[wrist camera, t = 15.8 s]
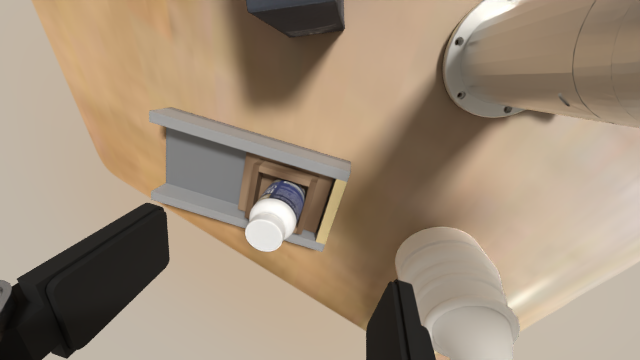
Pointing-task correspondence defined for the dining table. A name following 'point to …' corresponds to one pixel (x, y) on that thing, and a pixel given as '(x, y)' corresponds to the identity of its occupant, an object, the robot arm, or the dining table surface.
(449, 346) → the honey pot
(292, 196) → the pill bottle
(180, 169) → the bay
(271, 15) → the small box
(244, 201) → the crate
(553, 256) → the dining table surface
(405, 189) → the dining table surface
